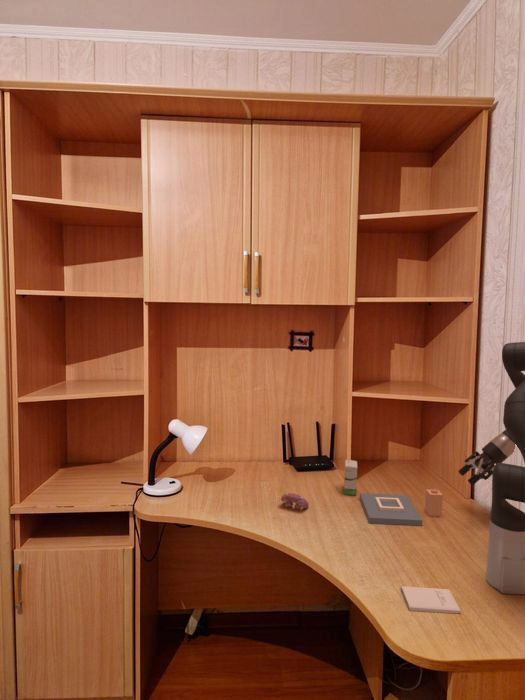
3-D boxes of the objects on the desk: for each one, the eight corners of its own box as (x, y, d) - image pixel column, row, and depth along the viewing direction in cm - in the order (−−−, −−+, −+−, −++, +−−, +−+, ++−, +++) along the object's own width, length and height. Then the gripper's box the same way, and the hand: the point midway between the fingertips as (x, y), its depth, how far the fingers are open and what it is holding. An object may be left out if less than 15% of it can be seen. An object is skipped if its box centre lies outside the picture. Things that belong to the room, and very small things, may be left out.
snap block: (441, 516, 155) (442, 492, 154) (428, 515, 155) (430, 492, 154) (437, 510, 159) (438, 487, 158) (424, 510, 160) (426, 487, 159)
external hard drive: (400, 591, 114) (448, 593, 113) (409, 612, 106) (460, 615, 105) (400, 585, 114) (448, 588, 113) (409, 606, 106) (460, 609, 105)
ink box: (356, 496, 170) (357, 467, 169) (343, 495, 171) (344, 466, 170) (356, 487, 178) (357, 460, 177) (344, 486, 179) (345, 458, 178)
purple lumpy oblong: (281, 509, 161) (278, 496, 158) (286, 499, 165) (283, 487, 161) (306, 515, 157) (303, 502, 153) (310, 505, 160) (307, 492, 157)
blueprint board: (422, 525, 148) (422, 516, 147) (369, 523, 149) (369, 514, 148) (406, 500, 167) (406, 492, 167) (359, 497, 169) (360, 490, 168)
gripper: (483, 435, 160) (450, 463, 162) (502, 447, 146) (465, 478, 148) (497, 449, 161) (463, 478, 162) (517, 463, 146) (480, 494, 148)
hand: (464, 478), depth 155 cm, fingers open, 8 cm apart
